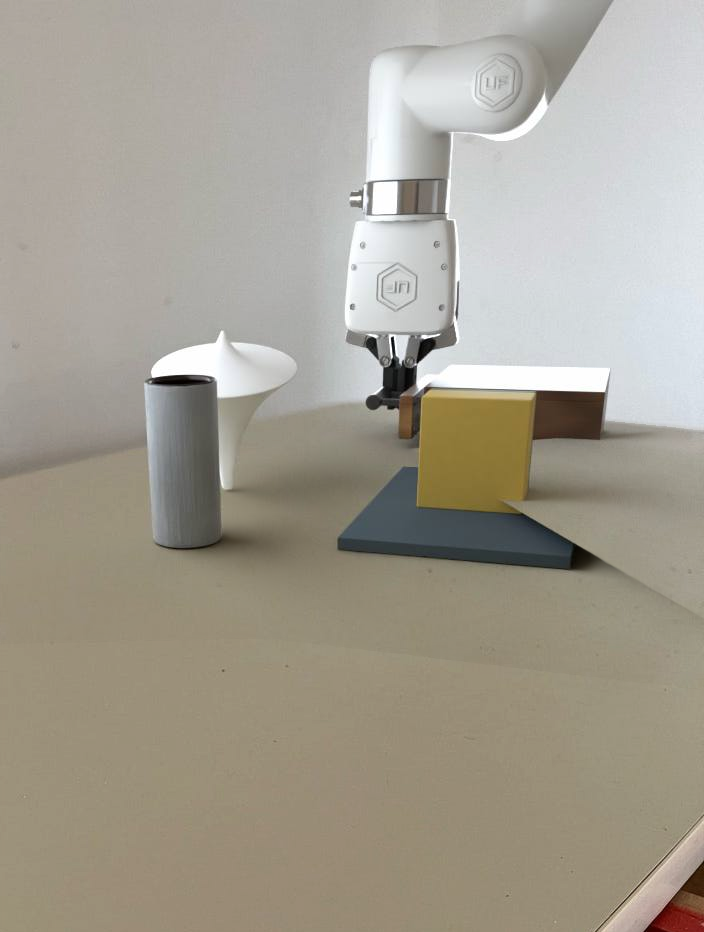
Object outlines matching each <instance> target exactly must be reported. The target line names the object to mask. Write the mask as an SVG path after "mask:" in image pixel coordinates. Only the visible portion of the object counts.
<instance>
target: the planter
mask: <svg viewBox="0 0 704 932" xmlns="http://www.w3.org/2000/svg"><path fill="white" fill-rule="evenodd" d="M143 387H144V388H143V389H144V390H143V391H144V407H145V423H146V426H145V427H146V440H147V441H146V443H147V458H148V461H147V462H148V476H149V478H148V479H149V494H150V510H151V530H152V538H153V541H154V543H156V544H157V545H160V546H163V547H166V548H173V549H195V548H201V547H207V546H210V545H213V544H215V543H217V542H220V540H221V539H222V501H221V500H222V499H221V498H222V497H221V496H222V495H221V479H220V463H219V431H218V398H217V380H216V378H214V377H212V376H207V375H193V374H184V375H167V376H159V377H150V378H147V379H146V380H144V382H143Z"/></svg>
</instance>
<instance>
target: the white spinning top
mask: <svg viewBox="0 0 704 932" xmlns="http://www.w3.org/2000/svg"><path fill="white" fill-rule="evenodd" d="M297 372H298V364H297V362H296V361H295V360H294V358H293V357H291V356H290V355H288V354H286V352H283V351H281V350H278V349H275V348H272V347H270V346H266V345H261V344H256V343H249V342H235V341H233V342H232V341H230V339H229V337H228V335H227V333H226V331H225V330H221V331H220V333H219V335H218V338H217V340H216V341H215V342H212V343H205V344H198V345H194V346H190V347H185V348H182V349H178V350H177V351H174V352H171V353H169V354H167V355H166V356H163V357H162V358H160V359H159V360H158V361H157V362H156V363H155V364H154V365H153V367H152V368H151V378H153V377H159V376H167V375H184V374H193V375H207V376H212V377H214V378H216V380H217V398H218V431H219V463H220V485H221V488H222V489H223V490H224V491H231V490H232V489H233V488H234V484H235V477H236V472H237V471H236V469H237V464H238V459H239V454H240V450H241V445H242V442H243V439H244V435H245V434H246V433H245V432H246V430H247V429H248V426H249V423H250V421H251V420H252V418H253V416H254V414H255V413H256V411H257V410H258V409H259V407H260V406H261V405H262V404H263V403H264V401H266V400H267V399H268V398H269V397H270V396H271V395H273V394H274V393H275V392H276V391H277V390H279V389H280V388H282V387H283V386H285V385H287V384H288V383H289V382H291V381H292V380H293V378H294V377H295V376H296V375H297Z"/></svg>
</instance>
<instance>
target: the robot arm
mask: <svg viewBox="0 0 704 932" xmlns="http://www.w3.org/2000/svg"><path fill="white" fill-rule="evenodd" d="M614 1H615V0H515V2H514V3H513V5H512V7H511V8H510V10H509V12H508V14H507V16H506V17H505V19H504V21H503V23H502V24H501V26H500V28H499V30H498V31H497V33H496V34H495V35H488V36H485V37H480V38H476V39H472V40H468V41H463V42H458V43H453V44H448V45H443V46H441V45H428V44H425V45H424V44H415V45H413V44H412V45H403V46H396V47H390V48H386V49H384V50H382V51H379V52H378V53H376V55H375V56H374V57H373V58H372V60H371V63H370V66H369V73H368V94H367V95H368V96H367V98H368V99H367V130H366V131H367V132H366V133H367V135H366V136H367V137H366V166H365V167H366V169H365V170H366V171H365V182H364V183H363V187H362V189H359V190H358V191H350V195H349V205H350V208H358V209H361V210H362V214H363V215H364V220H361V221H358V220H357V221H355V224H354V228H353V234H352V239H351V245H350V252H349V259H348V266H347V267H348V268H347V277H346V286H345V287H346V290H345V298H344V299H345V300H344V301H345V302H344V324H345V326H346V328H347V329H346V332H345V337H344V340H345V342H346V343H347V344H349V345H353V346H356V347H359V348H363V349H367V350H368V351H369V352H370V354H372V355H373V357H374V358H375V359H376V360H377V361H378V364H379V366H381V367H382V387H384V386H386V387H388V388H390V389H391V391H401V392H405V391H407V390H408V389H409V388H410V387H412V386H413V385H414V384H415V383H417V382H418V381H417V378H418V365H419V364H420V363H421V362H422V361H423V360H424V359H425V358H426V357H427V356H428V355H429V354H431V352H432V351H436V350H441V349H445V348H449V347H453V346H455V345H457V344H458V343H459V340H460V335H459V329H458V324H457V322H458V319H459V312H460V311H459V310H460V251H459V249H460V247H459V238H458V228H457V222H456V219H455V218H449V212H450V192H451V176H452V160H453V159H452V158H453V144H454V141H453V140H454V133H457V134H469V135H475V136H476V135H477V136H481V137H484V138H486V139H488V140H493V141H499V142H502V141H503V142H504V141H510V140H511V141H512V140H514V139H517V138H519V137H521V136H523V135H525V134H527V133H528V132H529V131H531V130H532V129H533V128H534V126H536V124H537V123H538V122H539V121H540V120H541V119H542V117H543V116H544V115H545V113H546V111H547V110H548V109H549V106H550V105H551V103H552V102H553V100H554V99H555V97H556V95H557V94H558V92H559V91H560V89H561V87H562V85H563V84H564V82H565V81H566V79H567V78H568V77H569V74H570V73H571V71H572V69H573V68H574V66H575V65H576V63H577V61H578V60H579V58H580V57H581V55H582V54H583V52H584V50H585V49H586V47H587V46H588V44H589V42H590V41H591V39H592V37H593V36H594V34H595V32H596V30H597V29H598V27H599V26H600V24H601V22H602V20H603V19H604V17H605V15H606V13H607V12H608V10H609V9H610V7H611V5H612V4H613V2H614ZM396 336H407V342H406V347H405V351H404V357H403V359H402V360H401V363H400V358H399V357H398V347H397V337H396ZM427 336H428V337H427ZM391 399H393V398H391ZM386 409H387V410H388V411H394V410H395V409H397V410H398V411H399V406H386Z"/></svg>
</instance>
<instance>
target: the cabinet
mask: <svg viewBox="0 0 704 932" xmlns="http://www.w3.org/2000/svg"><path fill="white" fill-rule="evenodd" d="M611 370H612V369H611V367H576V366H575V367H574V366H573V367H567V366H526V365H525V366H524V365H522V366H521V365H480V364H479V365H477V364H474V365H473V364H450V365H449V366H448V367H446V368H445V369H443V371H441V372H440V373H439V374H437V375H438V376H437V377H435V378H434V379H433V380H432V381H431V382H429V383H428V384H427V385H426V386H425V387H424V395H425V394H426V393H427V392H428V391H429V390H430V389H431V388H442V389H476V390H509V391H536V392H537V397H536V408H535V420H534V431H533V441H538V440H540V441H541V440H552V439H566V440H567V439H568V440H587V441H588V440H589V441H591V440H592V441H600V440H601V437H602V436H603V435H604V430H605V422H606V413H607V406H608V405H607V404H608V396H609V388H610V377H611Z"/></svg>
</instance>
